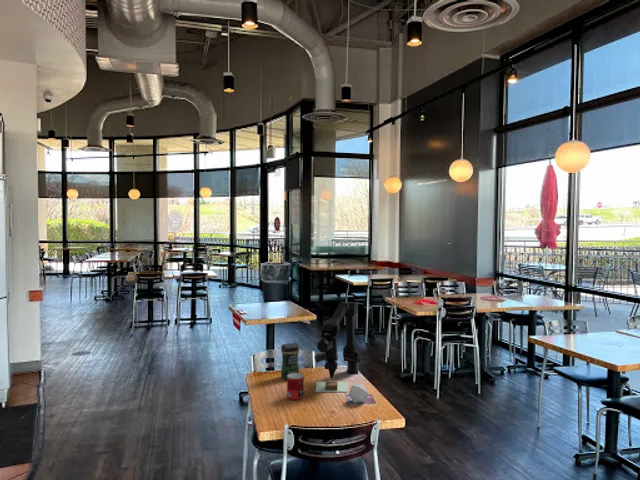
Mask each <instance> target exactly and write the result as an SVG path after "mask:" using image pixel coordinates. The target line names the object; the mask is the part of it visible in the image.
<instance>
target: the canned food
mask: <svg viewBox="0 0 640 480" xmlns="http://www.w3.org/2000/svg"><path fill="white" fill-rule="evenodd" d="M304 376H305V375H304V374H303V373H300V372H299V373H291V374H288V375H287V379H286V380H287V381H286V383H287V384H286V385H287V386H286V387H287V390H286V391H287V392H286V393H287V396H286V397H287V399H288V400H290V401H294V402H295V401H296V402H297V401H301V400H303V399H304V396H305V394H304V393H305V387H304V386H305V381H304V380H305V379H304V378H305V377H304Z"/></svg>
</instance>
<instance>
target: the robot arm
mask: <svg viewBox="0 0 640 480" xmlns="http://www.w3.org/2000/svg"><path fill="white" fill-rule="evenodd" d="M358 309H359V305H358V304H357V302H352V301H340V302H338V306H337V308H336V310H335V312H334V313H333V315H332V316H331V318H330V319H328V320H326V321H325V323H324V325H323V327H322V330H321V334H320V341H317V342H318V343H317V345H316V348H317V350H318V351H319V353H317V354H315V355H314V361H316V363H320V362H323V361H325V362H324V370H328V373H329V377H330V379H333V378H334V375H335V373H336V371H337V369H338V358H339V355H338V337H339V335H338V334H339V332H340V329H341V327H340V324H341V322H342V320H343V318H345V326H346V327H345V335H346V336H345V338H346V339H345V341H346V343H345V345H344V347H343V349H342V357H343V362H346V363H347V364H346V366H347V369H346V374H359V368H358V364H359V363H361V361H362V356H361V354H360V352H359V348H358V346H357V344H356V326H355V325H356V324H355V320H356V319H355V318H356V316H357V315H358Z"/></svg>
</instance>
